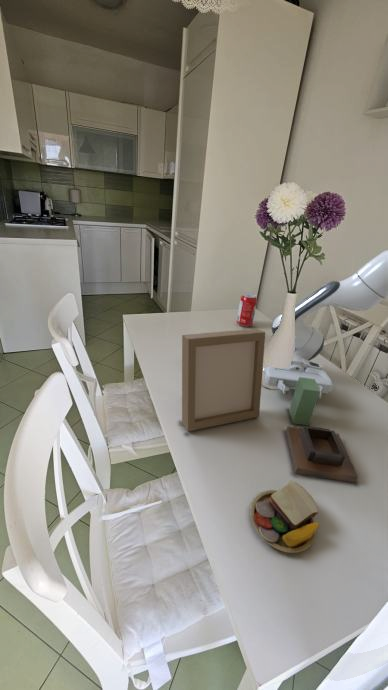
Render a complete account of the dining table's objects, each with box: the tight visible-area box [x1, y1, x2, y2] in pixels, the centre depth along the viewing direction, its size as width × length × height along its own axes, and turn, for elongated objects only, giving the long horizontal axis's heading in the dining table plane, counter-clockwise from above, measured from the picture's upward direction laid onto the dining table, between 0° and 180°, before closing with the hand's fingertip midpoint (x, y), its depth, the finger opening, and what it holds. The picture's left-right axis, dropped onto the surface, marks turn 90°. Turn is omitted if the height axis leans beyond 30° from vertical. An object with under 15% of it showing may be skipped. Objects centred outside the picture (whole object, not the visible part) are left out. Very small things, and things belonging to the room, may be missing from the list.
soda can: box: [236, 292, 258, 328], centre depth 145 cm, size 8×8×15 cm
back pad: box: [288, 377, 320, 426], centre depth 87 cm, size 4×6×12 cm
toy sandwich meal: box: [249, 480, 320, 554], centre depth 59 cm, size 12×14×5 cm
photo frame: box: [181, 328, 266, 432], centre depth 83 cm, size 15×22×25 cm
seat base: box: [285, 425, 359, 484], centre depth 76 cm, size 14×14×5 cm
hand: (302, 394), depth 89 cm, fingers open, 8 cm apart
